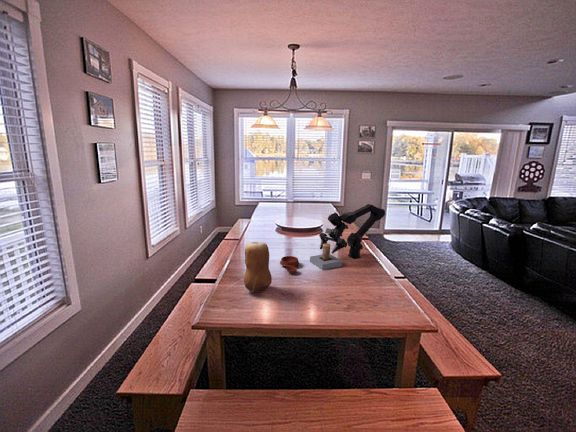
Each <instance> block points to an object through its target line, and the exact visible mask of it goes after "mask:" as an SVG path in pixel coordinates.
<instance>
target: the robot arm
mask: <svg viewBox="0 0 576 432" xmlns="http://www.w3.org/2000/svg"><path fill="white" fill-rule="evenodd" d="M368 213H369V217H368V218H367V219H366V220H365V222H363V224H362V225H361V226H360V228H358V230H357V231H356V232H351V233H350V234H349V235H348V236H347V239H346V240H345V239H344V238H341V237H343V233H344V231H345V230H349V225H352V224H353V223H354V222H356V220H357V219H358V218H360V217H362V216H364V215H366V214H368ZM385 216H386V211H385V209H384V208H380V207H378V206H376V205H373V204H370V203H367V204H366V205H364V206H362V207H360V208H357V209H356V210H354V211H351V212H345V213H342V215H339V214H338V212H336V211H334V213H331V214H329V215H328V217H327V221H328V222H329V223H330V224H331V225H332V226H333V227H334V228H328V227H326V230H325V232H320V233H319V235H318V236H319V238H320V245H319V246H320V247H319V250H323V244H328V241H331V242H334V243H335V245H334V247H333V249H332V250H331V251H330V254H331V255H332V254H335V253H336V252H337V251H339V250H341V249H344V248H347V246H348V247H349V251H348V254H347V257H349V258H352V259H353V260H354V259H360V258H362V256H361V250H363V247H364V245H363V244H362V240H363V237H364V235H366V233H367V232H368V231H369V230H370V229H371V228H372V226H374V224H375V223H376V222H378V221H379V220H382V218H384V217H385Z"/></svg>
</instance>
